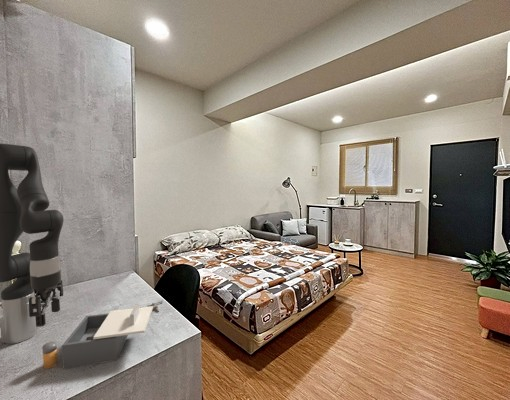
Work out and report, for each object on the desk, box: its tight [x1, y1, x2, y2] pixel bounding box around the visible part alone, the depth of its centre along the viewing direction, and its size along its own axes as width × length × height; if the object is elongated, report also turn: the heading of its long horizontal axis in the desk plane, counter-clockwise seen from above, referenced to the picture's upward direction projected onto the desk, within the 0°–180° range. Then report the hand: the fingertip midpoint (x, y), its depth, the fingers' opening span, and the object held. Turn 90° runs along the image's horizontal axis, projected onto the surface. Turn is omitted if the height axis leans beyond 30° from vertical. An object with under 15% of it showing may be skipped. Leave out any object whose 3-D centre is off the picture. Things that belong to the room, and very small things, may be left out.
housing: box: [61, 312, 129, 369], centre depth 89 cm, size 16×18×8 cm
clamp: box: [146, 300, 164, 313], centre depth 114 cm, size 15×2×10 cm
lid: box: [93, 303, 154, 340], centre depth 91 cm, size 16×17×5 cm
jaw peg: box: [41, 340, 59, 370], centre depth 80 cm, size 4×4×7 cm
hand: (48, 318), depth 80 cm, fingers open, 8 cm apart
